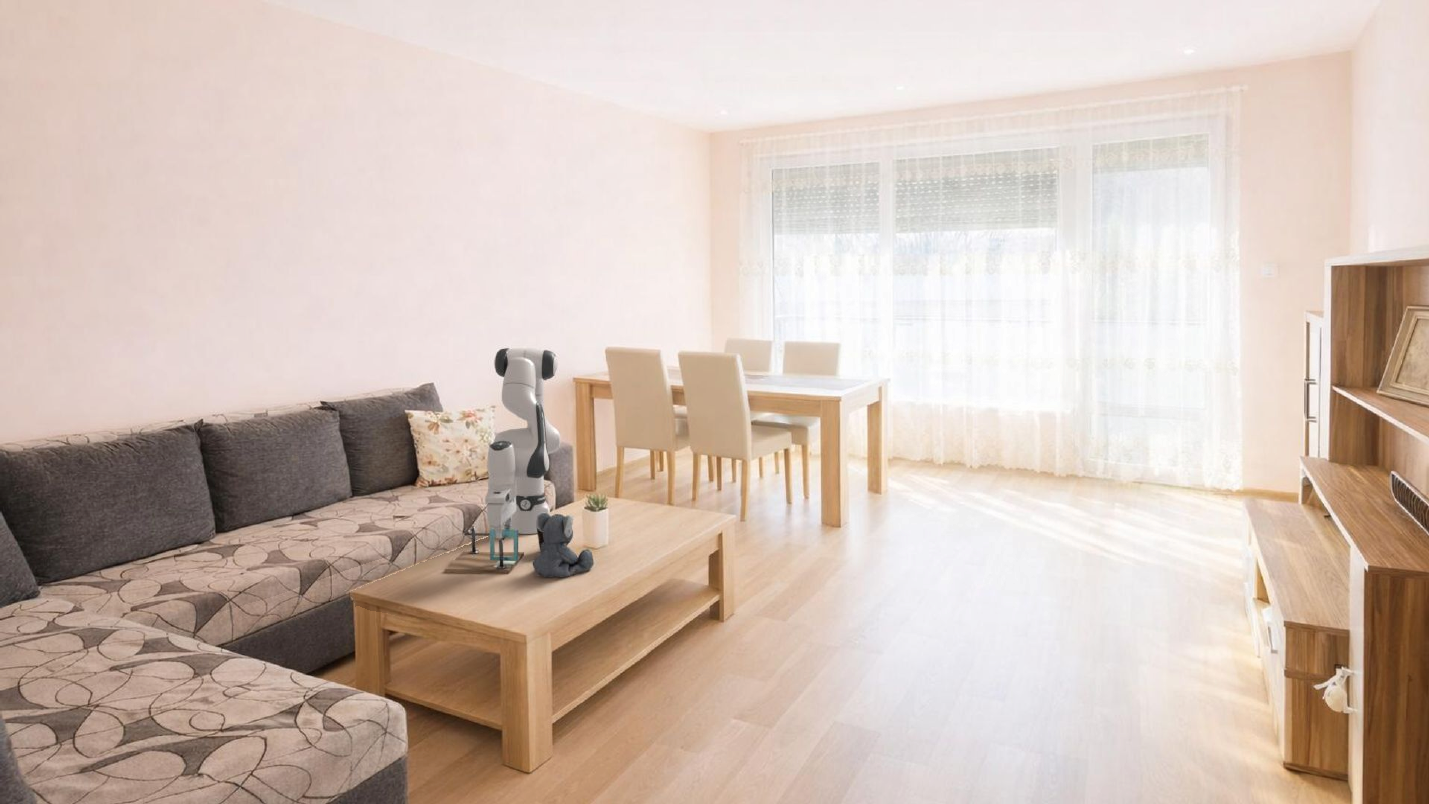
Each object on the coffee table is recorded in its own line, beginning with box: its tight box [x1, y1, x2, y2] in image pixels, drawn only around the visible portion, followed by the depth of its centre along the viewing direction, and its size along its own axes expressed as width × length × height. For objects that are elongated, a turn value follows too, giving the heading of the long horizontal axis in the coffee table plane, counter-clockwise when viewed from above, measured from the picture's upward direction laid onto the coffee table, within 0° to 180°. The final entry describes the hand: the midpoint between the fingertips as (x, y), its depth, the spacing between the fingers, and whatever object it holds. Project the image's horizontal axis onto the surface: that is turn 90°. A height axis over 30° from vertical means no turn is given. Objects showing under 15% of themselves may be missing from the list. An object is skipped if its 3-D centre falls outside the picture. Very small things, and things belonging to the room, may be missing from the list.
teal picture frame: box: [489, 528, 519, 561], centre depth 280 cm, size 1×9×10 cm, turn 88°
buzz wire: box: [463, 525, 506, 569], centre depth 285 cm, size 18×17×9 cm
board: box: [444, 551, 525, 575], centre depth 285 cm, size 18×21×1 cm
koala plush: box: [532, 512, 595, 579], centre depth 276 cm, size 17×18×20 cm
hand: (503, 533), depth 279 cm, fingers open, 8 cm apart
